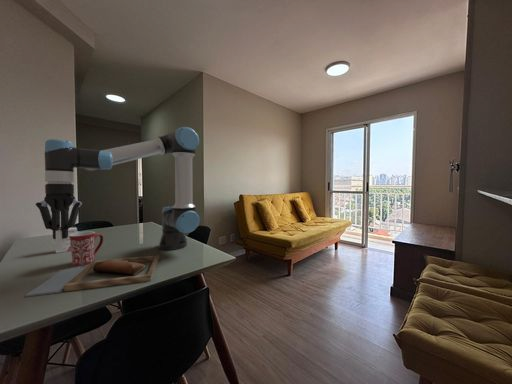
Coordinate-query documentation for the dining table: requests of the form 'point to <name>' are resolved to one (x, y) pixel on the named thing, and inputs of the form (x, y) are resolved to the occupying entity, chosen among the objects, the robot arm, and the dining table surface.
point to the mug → (84, 247)
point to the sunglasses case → (119, 266)
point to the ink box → (66, 241)
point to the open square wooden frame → (77, 285)
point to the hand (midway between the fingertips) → (60, 247)
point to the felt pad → (55, 283)
